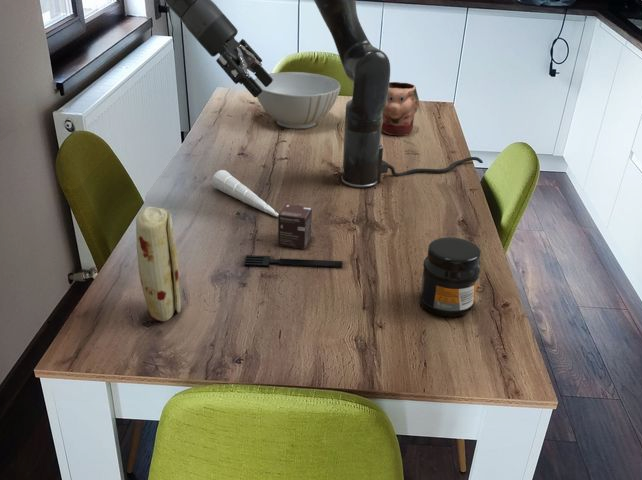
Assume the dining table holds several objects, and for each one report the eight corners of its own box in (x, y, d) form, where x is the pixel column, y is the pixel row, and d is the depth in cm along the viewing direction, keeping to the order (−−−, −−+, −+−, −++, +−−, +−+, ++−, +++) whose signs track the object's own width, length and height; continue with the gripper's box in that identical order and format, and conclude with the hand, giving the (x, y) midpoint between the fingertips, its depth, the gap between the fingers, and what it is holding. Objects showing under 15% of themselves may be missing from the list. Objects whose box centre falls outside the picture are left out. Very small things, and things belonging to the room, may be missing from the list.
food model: (148, 299, 132) (136, 199, 120) (184, 299, 132) (175, 199, 121) (141, 328, 124) (127, 223, 112) (180, 327, 124) (170, 224, 113)
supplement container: (473, 322, 130) (483, 265, 123) (416, 315, 131) (423, 258, 124) (473, 294, 139) (484, 239, 132) (420, 287, 140) (427, 232, 133)
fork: (341, 261, 148) (342, 259, 147) (341, 270, 144) (342, 268, 144) (246, 257, 147) (246, 255, 147) (244, 266, 144) (244, 264, 144)
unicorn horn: (267, 223, 161) (267, 203, 158) (211, 189, 175) (210, 171, 173) (283, 218, 164) (283, 198, 161) (227, 185, 178) (226, 167, 175)
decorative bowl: (338, 138, 211) (340, 97, 204) (249, 134, 211) (248, 92, 204) (339, 112, 233) (340, 74, 226) (258, 108, 233) (257, 69, 226)
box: (277, 245, 152) (277, 214, 148) (285, 234, 157) (285, 203, 153) (304, 249, 151) (305, 218, 147) (311, 237, 156) (312, 206, 152)
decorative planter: (378, 118, 229) (382, 74, 221) (416, 121, 228) (421, 77, 220) (375, 138, 213) (378, 91, 205) (415, 141, 212) (420, 94, 204)
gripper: (209, 19, 135) (268, 86, 141) (231, 6, 147) (285, 69, 152) (185, 46, 139) (243, 110, 144) (208, 32, 151) (261, 92, 156)
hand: (264, 89), depth 148 cm, fingers open, 8 cm apart
